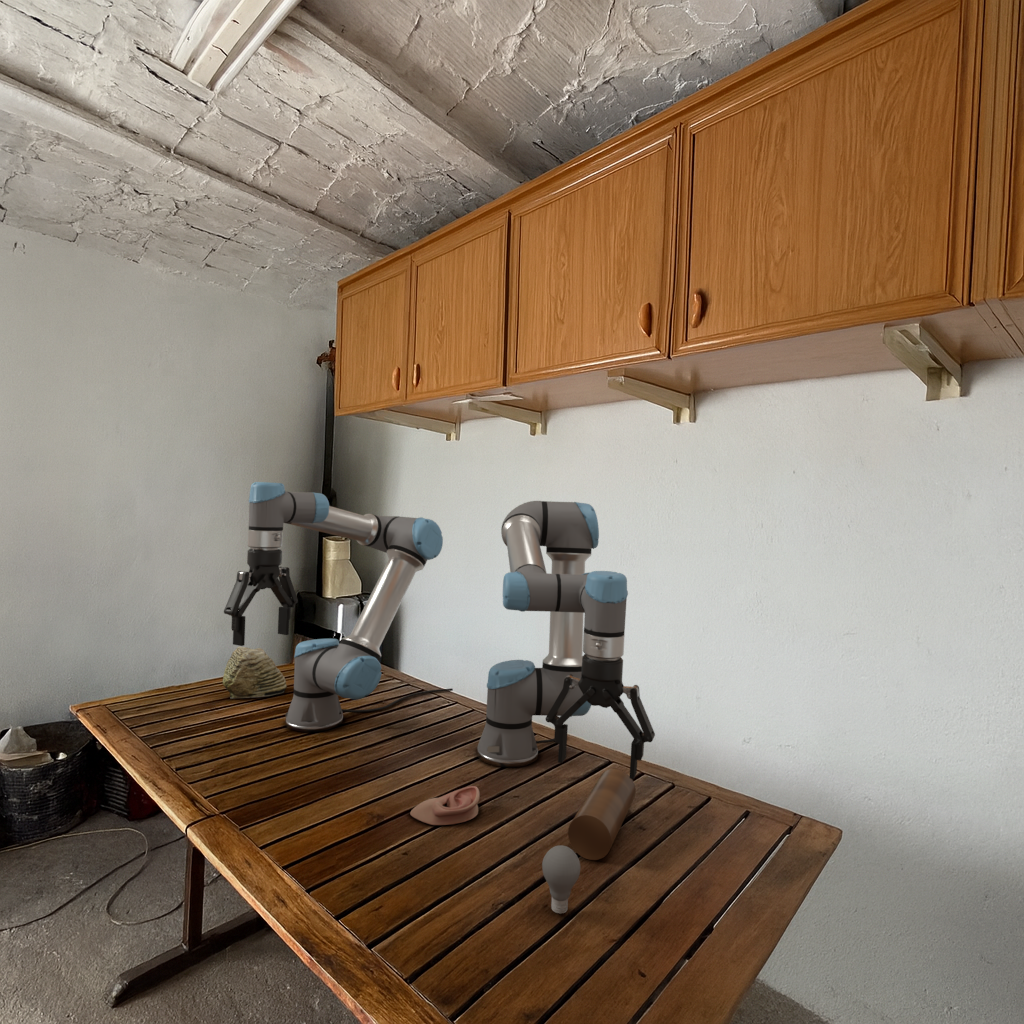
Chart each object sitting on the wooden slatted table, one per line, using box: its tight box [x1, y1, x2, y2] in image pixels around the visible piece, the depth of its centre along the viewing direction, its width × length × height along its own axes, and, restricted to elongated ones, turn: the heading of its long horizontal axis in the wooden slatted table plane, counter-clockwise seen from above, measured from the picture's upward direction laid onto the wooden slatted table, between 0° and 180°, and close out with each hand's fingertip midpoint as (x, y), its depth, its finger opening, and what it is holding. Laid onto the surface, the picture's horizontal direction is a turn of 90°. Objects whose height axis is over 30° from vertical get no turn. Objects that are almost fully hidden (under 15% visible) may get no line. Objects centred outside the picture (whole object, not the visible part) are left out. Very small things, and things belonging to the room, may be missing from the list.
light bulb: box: [541, 844, 581, 914], centre depth 99 cm, size 6×6×10 cm
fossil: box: [222, 646, 288, 699], centre depth 198 cm, size 9×18×15 cm, turn 132°
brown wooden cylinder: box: [567, 768, 637, 861], centre depth 125 cm, size 22×8×8 cm, turn 158°
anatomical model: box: [409, 785, 481, 826], centre depth 129 cm, size 13×4×12 cm
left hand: (261, 639), depth 148 cm, fingers open, 13 cm apart
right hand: (596, 768), depth 118 cm, fingers open, 13 cm apart
